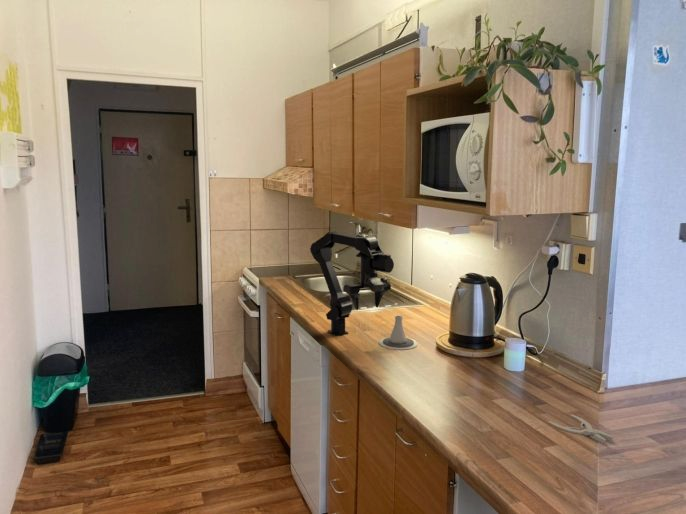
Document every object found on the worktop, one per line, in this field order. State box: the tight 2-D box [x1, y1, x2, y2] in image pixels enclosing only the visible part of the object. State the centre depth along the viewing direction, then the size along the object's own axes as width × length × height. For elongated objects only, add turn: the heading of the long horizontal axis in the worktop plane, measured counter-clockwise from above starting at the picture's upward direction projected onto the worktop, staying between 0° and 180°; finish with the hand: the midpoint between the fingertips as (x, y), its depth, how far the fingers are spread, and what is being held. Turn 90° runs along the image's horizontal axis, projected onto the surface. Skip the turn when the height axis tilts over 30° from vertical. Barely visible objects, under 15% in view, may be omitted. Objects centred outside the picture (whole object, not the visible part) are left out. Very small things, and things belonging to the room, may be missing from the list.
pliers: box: [547, 414, 613, 445], centre depth 149 cm, size 10×2×15 cm
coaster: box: [378, 336, 419, 351], centre depth 218 cm, size 15×15×1 cm
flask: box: [389, 315, 407, 344], centre depth 218 cm, size 7×7×10 cm
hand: (367, 308), depth 220 cm, fingers open, 9 cm apart
